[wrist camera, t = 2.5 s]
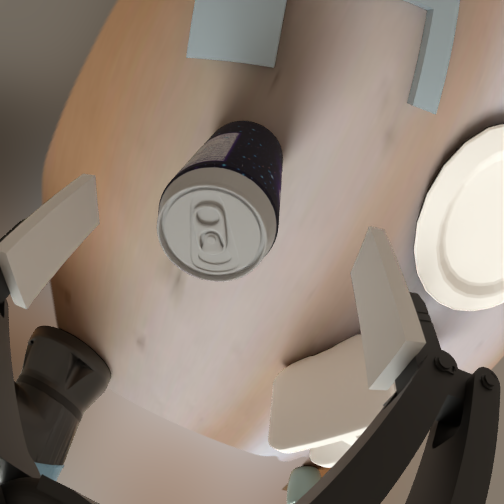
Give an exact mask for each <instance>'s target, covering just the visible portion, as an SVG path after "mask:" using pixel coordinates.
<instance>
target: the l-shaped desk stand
mask: <svg viewBox="0 0 504 504" xmlns="http://www.w3.org/2000/svg"><path fill="white" fill-rule="evenodd" d="M404 1H406V2H409V3H411V4H414V5H416V6H418V7H421V8H423V9H425V10H427V15H426V21H425V27H424V32H423V37H422V42H421V47H420V52H419V56H418V61H417V65H416V70H415V74H414V78H413V82H412V86H411V90H410V94H409V98H408V102H407V103H408V104H411V105H413V106H415V107H418V108H421V109H423V110H426V111H428V112H431V113H433V114H436V112H437V109H438V105H439V102H440V98H441V94H442V90H443V86H444V82H445V78H446V74H447V69H448V65H449V60H450V56H451V51H452V46H453V41H454V35H455V30H456V24H457V18H458V11H459V4H460V0H404ZM286 3H287V0H195V4H194V10H193V16H192V22H191V29H190V35H189V42H188V49H187V57H186V58H199V59H211V60H221V61H230V62H239V63H246V64H253V65H260V66H266V67H272V68H274V67H275V61H276V56H277V51H278V45H279V40H280V35H281V29H282V24H283V19H284V13H285V8H286Z"/></svg>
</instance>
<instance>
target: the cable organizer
mask: <svg viewBox="0 0 504 504" xmlns="http://www.w3.org/2000/svg"><path fill="white" fill-rule="evenodd" d="M395 392H396V385H395V382H394V383H393V384H392V385H391V386H390V388H389V389H388V390H372V389H368V381H367V373H366V365H365V358H364V350H363V343H362V337H361V335H359V334H357V335H355V336H353V337H351V338H349V339H347V340H345V341H343V342H341V343H339V344H337V345H335V346H334V347H333V348H330V349H328V350H326V351H324V352H321V353H319V354H317V355H315V356H309V357H307V358H304V359H302V360H300V361H297V362H295V363H292V364H291V365H290V366H288V367H286V368H285V369H283V370H282V371H281V372H280V373H279V374H278V375H277V376H276V377H275V379H274V382H273V391H272V403H271V414H270V425H269V436H268V442H269V444H270V446H271V447H272V448H274V449H276V450H278V451H280V452H283V453H294V452H298V451H303V450H307V449H310V459H311V461H312V462H313V463H314V464H317V465H319V466H322V467H327V468H329V467H333V466H334V465H335V464H336V462H337V461H338V460H339V459H340V458H341V457H342V456H343V455H344V454H345V453H346V452H347V450H348V449H349V448H350V447H351V446H352V445H353V444H354V443H355V441H356V440H357V439H358V438H359V437H360V436H361V434H362V433H363V432H364V431H365V430H366V428H367V427H368V426H369V425H370V423H371V422H372V421H373V420H374V418H375V417H376V416H377V415H378V413H379V412H380V411H381V410H382V408H383V407H384V406H383V404H384V403H385V402H386V401H387V400H388V399H389V398H390V397H391V396H392V395H393V394H394V393H395Z"/></svg>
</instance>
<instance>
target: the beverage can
mask: <svg viewBox="0 0 504 504" xmlns="http://www.w3.org/2000/svg"><path fill="white" fill-rule="evenodd" d="M282 163H283V155H282V150H281V146H280V144H279V142H278V140H277V139H276V137H275V136H274V135H273V134H272V133H271V132H270V131H269V130H268V129H267V128H265V127H263V126H262V125H260V124H257V123H254V122H249V121H236V122H232V123H229V124H226V125H224V126H223V127H221V128H220V129H218V130H217V131H216V132H215V133H214V134H213V135H212V136H211V137H210V138H209V140H208V141H207V142H206V143H205V144H204V145H203V146H202V147H201V148H200V149H199V150H198V151H197V152H196V153H195V155H194V156H193V157H192V158H191V159H190V160H189V161H188V162H187V163H186V164H185V166H184V167H183V168H182V169H181V170H180V171H179V172H178V173H177V175H176V176H175V177H174V178H173V179H172V180H171V181H170V183H169V184H168V185H167V187H166V188H165V190H164V192H163V194H162V196H161V199H160V203H159V211H158V220H157V234H158V238H159V242H160V244H161V247H162V249H163V251H164V252H165V254H166V255H167V257H168V258H169V259H170V260H171V261H172V262H173V263H174V264H175V265H176V266H177V267H178V268H180V269H181V270H183V271H184V272H186V273H188V274H189V275H191V276H194V277H196V278H199V279H203V280H207V281H214V282H224V281H231V280H235V279H238V278H241V277H243V276H245V275H247V274H248V273H250V272H251V271H253V270H254V269H255V268H256V267H257V266H258V265H259V263H260V262H261V261H262V259H263V257H265V256H266V254H267V253H268V252H269V251H270V249H271V248H272V246H273V244H274V242H275V240H276V237H277V233H278V225H279V210H280V195H281V180H282Z"/></svg>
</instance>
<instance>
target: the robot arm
mask: <svg viewBox="0 0 504 504" xmlns="http://www.w3.org/2000/svg"><path fill="white" fill-rule="evenodd" d="M99 223H100V222H99V213H98V203H97V192H96V178H95V175H89V174H82V175H81V176H79V177H78V178H77V179H75V180H74V181H73V182H71V183H70V184H69V185H67V186H66V187H65V188H63V189H62V190H61V191H59V192H58V193H57V194H56V195H54V196H53V197H52V198H51V199H49V200H48V201H47V202H46V203H44V204H43V205H42V206H41V207H40V208H38V210H36V211H35V212H34V213H32V214H31V215H30V216H29V217H28V218H26V219H24V220H22V221H20V222H19V223H18V224H17V225H15V226H14V227H13V228H12V230H10V231H9V232H8V233H7V234H6V235H4V236H3V237H2V238H1V239H0V504H99V503H97V502H95V501H93V500H91V499H89V498H87V497H85V496H83V495H81V494H80V493H78V492H76V491H74V490H72V489H70V488H68V487H66V486H64V485H62V484H60V483H58V482H56V480H57V478H58V476H59V474H60V472H61V470H62V468H63V467H64V462H65V459H66V457H67V454H68V451H69V448H70V446H71V443H72V441H73V438H74V436H75V433H76V431H77V428H78V426H79V423H80V421H81V418H82V416H83V414H84V412H85V411H86V410H87V409H88V408H89V407H90V406H91V405H92V404H93V403H94V402H95V401H96V400H97V399H98V398H99V397H100V396H101V395H102V393H103V392H104V391H105V390H106V388H107V386H108V383H109V381H110V379H111V375H110V371H109V369H108V367H107V365H106V364H105V363H104V361H103V360H102V359H101V358H100V357H99V356H98V355H97V354H96V353H95V352H94V351H93V350H92V349H91V348H90V347H88V346H87V345H86V344H84V343H83V342H82V341H80V340H79V339H77V338H76V337H74V336H72V335H71V334H69V333H67V332H65V331H63V330H60V329H58V328H55V327H51V326H40V327H37V328H36V329H35V331H34V332H33V334H32V335H31V337H30V339H29V342H28V346H27V350H26V354H25V359H24V364H23V369H22V372H21V374H20V376H19V378H18V379H17V381H16V382H15V381H14V380H13V371H12V362H11V352H10V339H9V319H8V318H9V317H8V303H7V300H6V298H7V297H8V295H9V294H11V297H12V299H13V301H14V304H15V305H18V306H20V307H22V308H25V309H28V308H29V306H30V305H31V304H32V302H33V301H34V300H35V298H36V297H37V296H38V295H39V293H40V292H41V291H42V289H43V288H44V287H45V285H46V284H47V283H48V282H49V281H50V279H51V278H52V277H53V276H54V275H55V273H56V272H57V271H58V270H59V269H60V267H61V266H62V265H63V264H64V263H65V261H66V260H67V259H68V258H69V257H70V256H71V254H72V253H73V252H74V251H75V250H76V249H77V248H78V246H79V245H80V244H81V243H82V242H83V241H84V240H85V239H86V238H87V236H88V235H89V234H90V233H91V232H92V231H93V230H94V229H95V228H96V227H97V226H98V225H99ZM351 279H352V284H353V289H354V295H355V300H356V306H357V312H358V318H359V324H360V330H361V337H362V343H363V350H364V358H365V365H366V373H367V381H368V389H372V390H388V389H389V388H390V386H391V385H392V384H393V383H394V382H395V385H396V392H395V393H394V394H393V395H392V396H391V397H390V398H389V399H388V400H387V401H386V402H385V403H384V404H383V406H384V407H383V408H382V410H381V411H380V412H379V413H378V415H377V416H376V417H375V418H374V420H373V421H372V422H371V423H370V425H369V426H368V427H367V428H366V430H365V431H364V432H363V433H362V434H361V436H360V437H359V438H358V439H357V440H356V441H355V443H354V444H353V445H352V446H351V447H350V448H349V449H348V450H347V452H346V453H345V454H344V455H343V456H342V457H341V458H340V459H339V460H338V461H337V462H336V464H335V465H334V466H333V467H332V468H331V469H330V470H329V471H328V472H327V473H326V474H325V475H324V476H323V477H322V478H321V479H320V480H319V481H318V482H317V483H316V484H315V485H314V486H313V487H312V488H311V489H310V490H309V491H308V492H307V493H305V494H304V495H303V496H302V497H301V498H300V499H299V500H298V501H297V502H296V503H295V504H380V503H381V502H382V501H383V499H384V498H385V497H386V496H387V494H388V493H389V491H390V490H391V489H392V487H393V486H394V485H395V483H396V482H397V480H398V479H399V478H400V476H401V475H402V473H403V472H404V470H405V469H406V467H407V466H408V464H409V463H410V461H411V459H412V458H413V457H414V455H415V453H416V452H417V450H418V449H419V447H420V445H421V444H422V442H423V440H424V439H425V437H426V435H427V433H428V432H429V430H430V433H429V436H428V440H427V443H426V447H425V450H424V453H423V456H422V459H421V462H420V466H419V468H418V472H417V474H416V477H415V480H414V482H413V485H412V488H411V491H410V493H409V496H408V498H407V501H406V503H405V504H485V502H486V498H487V494H488V489H489V485H490V479H491V474H492V469H493V463H494V455H495V449H496V441H497V432H498V421H499V407H500V383H499V380H498V378H497V376H496V375H495V374H494V372H493V371H491V370H490V369H488V368H485V367H480V368H478V369H477V370H476V371H475V372H474V373H473V374H470V373H467V372H465V371H462V370H459V369H458V367H457V364H456V362H455V360H454V358H453V357H452V356H451V355H450V354H449V353H447V352H445V351H443V350H441V348H440V345H439V341H438V339H437V336H436V333H435V330H434V327H433V324H432V323H431V318H430V316H429V315H428V310H427V308H426V305H425V303H424V301H423V300H422V299H421V298H420V296H419V295H418V294H417V293H411V292H409V290H408V287H407V285H406V282H405V279H404V277H403V274H402V271H401V269H400V266H399V264H398V261H397V259H396V256H395V254H394V251H393V249H392V246H391V244H390V242H389V239H388V237H387V235H386V232H385V230H384V229H380V228H376V227H372V226H369V228H368V231H367V234H366V236H365V239H364V241H363V244H362V246H361V249H360V251H359V254H358V256H357V258H356V261H355V263H354V266H353V268H352V270H351ZM430 428H431V429H430Z"/></svg>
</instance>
